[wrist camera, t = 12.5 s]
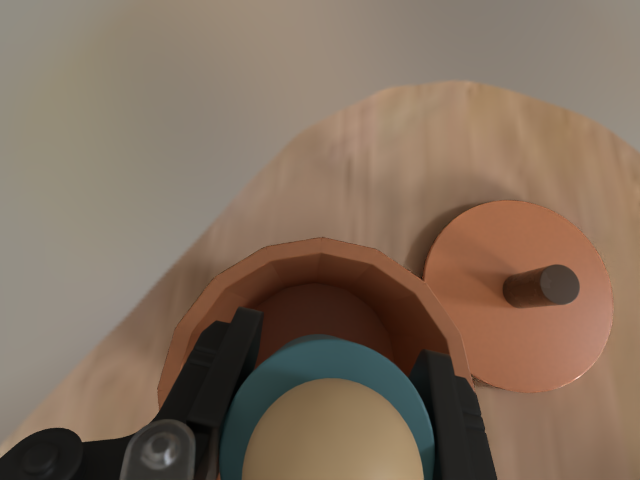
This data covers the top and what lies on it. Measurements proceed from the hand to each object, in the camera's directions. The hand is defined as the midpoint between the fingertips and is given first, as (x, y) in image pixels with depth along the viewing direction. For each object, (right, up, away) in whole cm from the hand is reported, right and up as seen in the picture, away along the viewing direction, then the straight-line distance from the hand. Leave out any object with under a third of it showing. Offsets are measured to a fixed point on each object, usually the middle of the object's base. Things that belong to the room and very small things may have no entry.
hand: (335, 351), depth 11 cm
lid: (+14, 0, +17) cm, 22 cm away
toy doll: (-1, -3, +4) cm, 5 cm away
